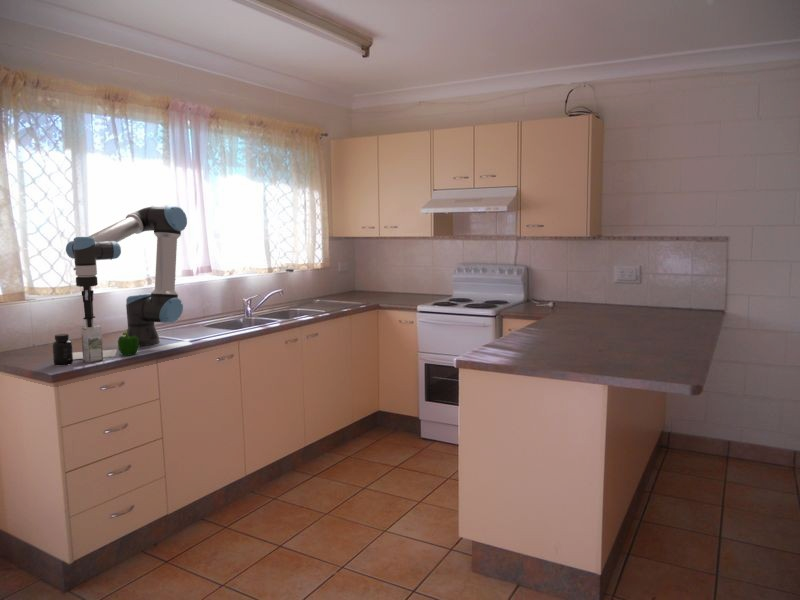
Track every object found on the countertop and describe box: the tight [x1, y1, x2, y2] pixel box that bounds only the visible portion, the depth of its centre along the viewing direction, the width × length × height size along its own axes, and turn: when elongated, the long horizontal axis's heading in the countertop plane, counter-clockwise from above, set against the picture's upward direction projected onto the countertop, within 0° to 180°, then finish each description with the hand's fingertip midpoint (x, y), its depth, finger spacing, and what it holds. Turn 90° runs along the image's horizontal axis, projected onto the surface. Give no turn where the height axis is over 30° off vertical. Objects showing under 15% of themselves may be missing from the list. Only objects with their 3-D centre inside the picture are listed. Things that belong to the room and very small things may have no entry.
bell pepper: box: [117, 331, 140, 357], centre depth 258 cm, size 8×8×10 cm
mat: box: [73, 349, 118, 361], centre depth 258 cm, size 18×15×1 cm
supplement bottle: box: [52, 333, 74, 366], centre depth 241 cm, size 7×7×12 cm
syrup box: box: [80, 324, 104, 363], centre depth 247 cm, size 6×6×14 cm
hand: (90, 334), depth 241 cm, fingers closed
